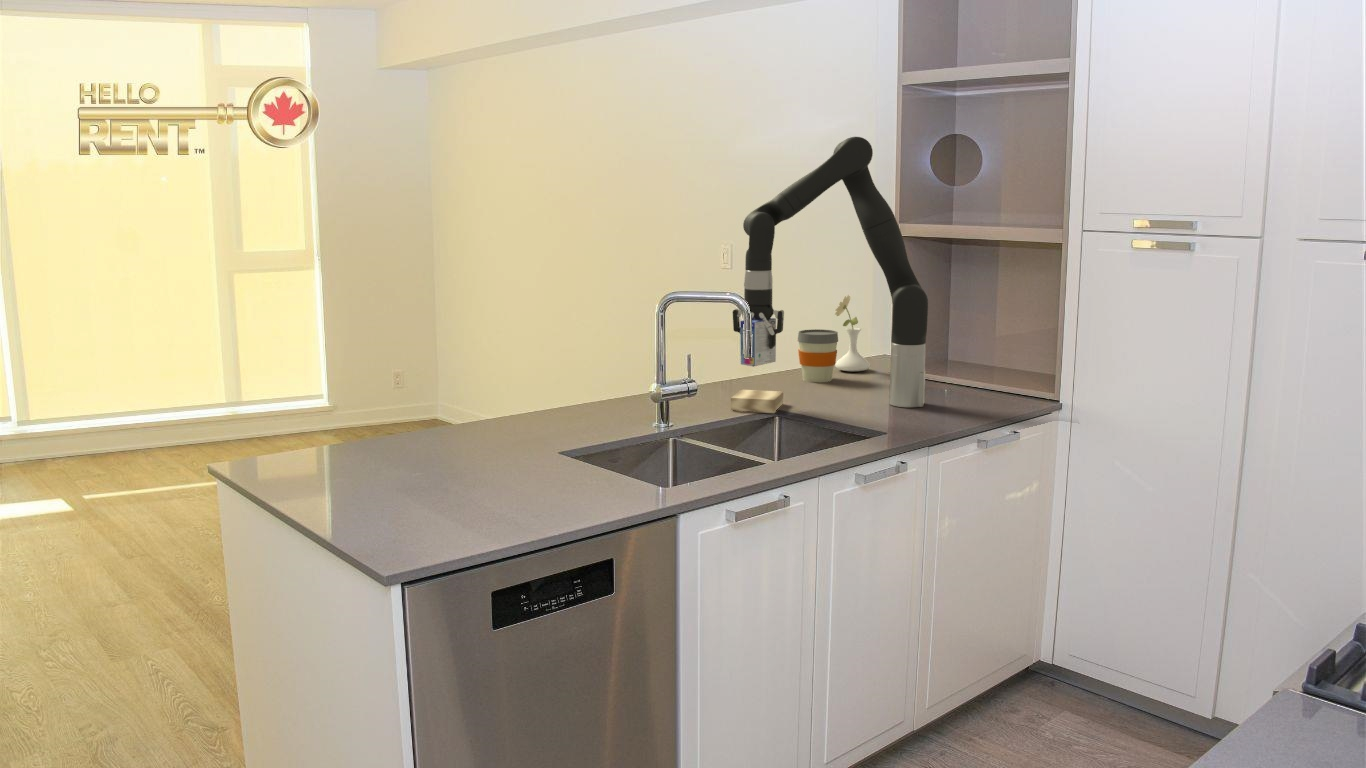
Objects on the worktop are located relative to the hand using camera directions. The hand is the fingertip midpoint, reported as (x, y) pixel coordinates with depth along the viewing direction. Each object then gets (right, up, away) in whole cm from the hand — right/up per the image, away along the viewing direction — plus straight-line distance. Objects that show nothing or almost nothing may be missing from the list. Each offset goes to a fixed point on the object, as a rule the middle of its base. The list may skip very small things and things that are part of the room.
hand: (758, 347), depth 285 cm
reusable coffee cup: (+22, -9, +43) cm, 49 cm away
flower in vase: (+34, -6, +57) cm, 67 cm away
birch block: (0, -17, +3) cm, 17 cm away
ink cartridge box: (0, -4, +1) cm, 5 cm away
